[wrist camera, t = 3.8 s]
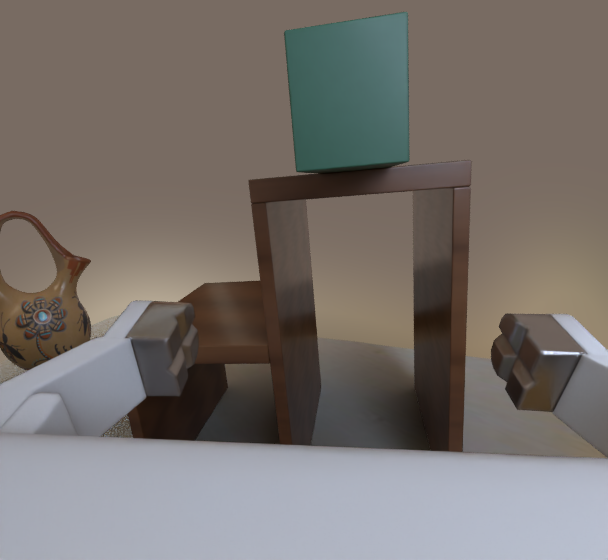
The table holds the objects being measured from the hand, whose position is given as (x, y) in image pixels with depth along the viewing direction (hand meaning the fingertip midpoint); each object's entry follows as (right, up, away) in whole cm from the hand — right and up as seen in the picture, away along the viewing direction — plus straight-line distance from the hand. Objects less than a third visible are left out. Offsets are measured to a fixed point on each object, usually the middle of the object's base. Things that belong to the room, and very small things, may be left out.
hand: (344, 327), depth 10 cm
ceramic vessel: (-41, -13, +50) cm, 66 cm away
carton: (+2, +9, +15) cm, 17 cm away
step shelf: (-1, -15, +29) cm, 33 cm away
